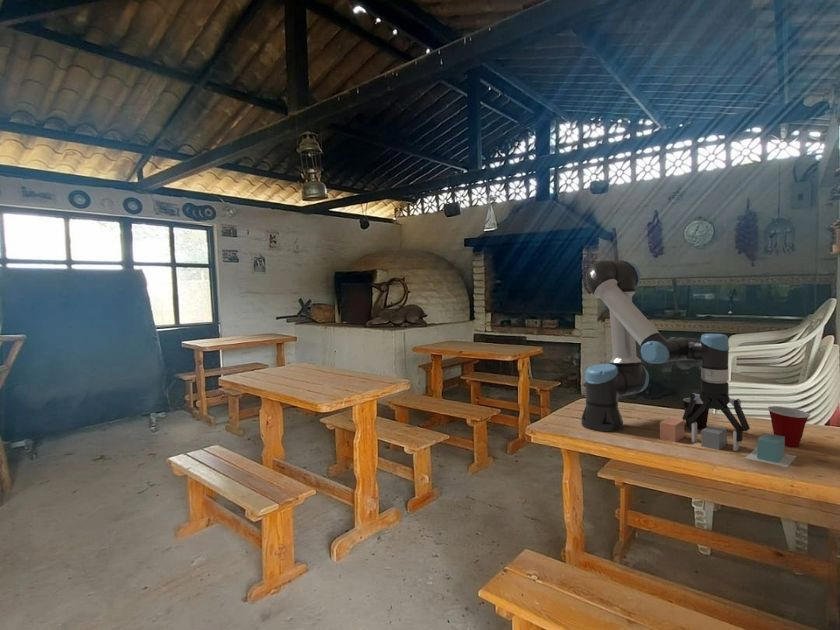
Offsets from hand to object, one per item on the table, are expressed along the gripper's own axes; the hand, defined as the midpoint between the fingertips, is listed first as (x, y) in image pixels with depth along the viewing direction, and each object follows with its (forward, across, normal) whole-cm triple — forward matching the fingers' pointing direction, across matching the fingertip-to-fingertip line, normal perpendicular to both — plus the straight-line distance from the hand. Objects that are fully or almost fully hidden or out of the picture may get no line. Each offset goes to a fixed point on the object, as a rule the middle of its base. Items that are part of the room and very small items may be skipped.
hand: (714, 446), depth 146 cm
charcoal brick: (0, 0, 0) cm, 0 cm away
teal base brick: (0, +15, 0) cm, 15 cm away
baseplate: (0, +15, 0) cm, 15 cm away
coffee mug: (0, -12, +20) cm, 23 cm away
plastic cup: (0, +16, +17) cm, 23 cm away
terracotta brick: (0, -13, 0) cm, 13 cm away
